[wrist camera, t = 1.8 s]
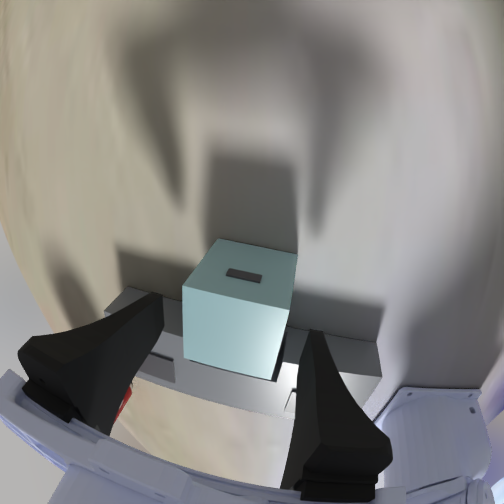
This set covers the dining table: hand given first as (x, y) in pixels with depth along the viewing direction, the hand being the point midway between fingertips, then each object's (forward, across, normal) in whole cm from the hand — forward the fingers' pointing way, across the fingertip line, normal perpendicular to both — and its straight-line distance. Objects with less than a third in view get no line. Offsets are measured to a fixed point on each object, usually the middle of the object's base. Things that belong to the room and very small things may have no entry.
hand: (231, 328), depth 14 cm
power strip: (+5, 0, +6) cm, 8 cm away
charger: (+5, 0, +1) cm, 5 cm away
